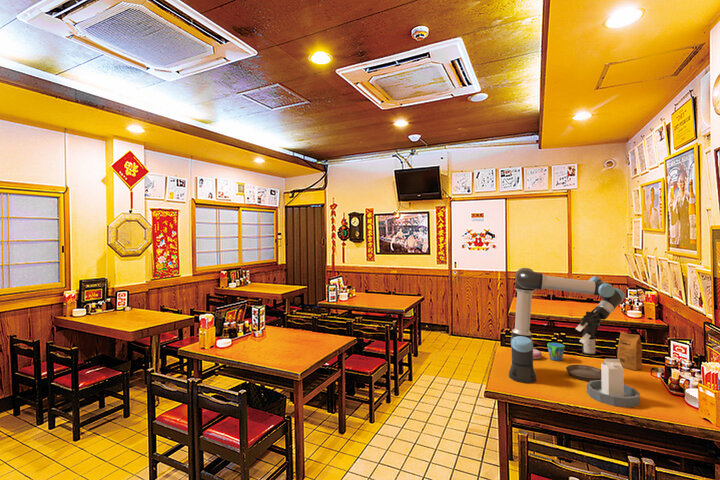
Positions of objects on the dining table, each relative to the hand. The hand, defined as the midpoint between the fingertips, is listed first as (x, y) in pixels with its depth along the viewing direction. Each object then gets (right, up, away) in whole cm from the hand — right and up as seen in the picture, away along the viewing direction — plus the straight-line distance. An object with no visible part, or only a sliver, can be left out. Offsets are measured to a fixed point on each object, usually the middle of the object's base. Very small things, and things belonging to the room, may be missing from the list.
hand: (579, 336), depth 203 cm
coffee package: (+47, -27, +25) cm, 60 cm away
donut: (-5, -27, +47) cm, 55 cm away
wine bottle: (+38, -27, +52) cm, 70 cm away
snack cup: (+9, -27, +42) cm, 51 cm away
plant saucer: (+11, -27, +13) cm, 32 cm away
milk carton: (+7, -26, -16) cm, 32 cm away
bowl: (+7, -27, -16) cm, 33 cm away
